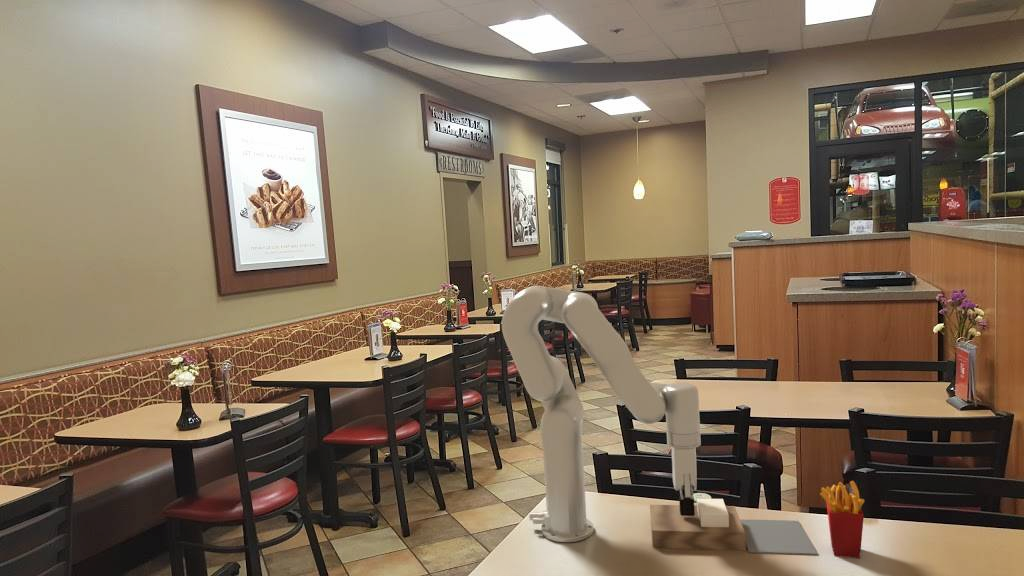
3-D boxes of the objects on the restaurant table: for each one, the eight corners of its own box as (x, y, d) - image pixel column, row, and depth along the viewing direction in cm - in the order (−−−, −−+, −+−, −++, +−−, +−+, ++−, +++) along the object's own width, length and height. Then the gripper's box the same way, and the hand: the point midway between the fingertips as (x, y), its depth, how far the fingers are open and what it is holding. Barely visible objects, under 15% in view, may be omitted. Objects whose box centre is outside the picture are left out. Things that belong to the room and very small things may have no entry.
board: (652, 547, 142) (651, 530, 142) (650, 520, 156) (649, 504, 155) (745, 550, 138) (745, 532, 138) (735, 522, 152) (734, 506, 152)
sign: (690, 517, 156) (690, 492, 170) (690, 520, 156) (690, 495, 170) (712, 518, 154) (710, 493, 168) (712, 522, 154) (711, 496, 168)
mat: (748, 552, 137) (748, 551, 137) (736, 520, 153) (736, 519, 153) (817, 554, 134) (817, 553, 134) (798, 521, 150) (798, 520, 150)
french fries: (866, 561, 131) (864, 491, 130) (822, 556, 134) (820, 488, 133) (858, 541, 139) (857, 475, 138) (817, 537, 142) (815, 473, 141)
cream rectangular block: (701, 526, 142) (700, 514, 142) (697, 509, 151) (696, 498, 151) (729, 527, 141) (728, 515, 141) (723, 510, 150) (722, 498, 150)
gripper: (665, 428, 154) (668, 501, 155) (668, 448, 139) (672, 528, 140) (696, 427, 152) (700, 501, 153) (704, 447, 138) (707, 529, 139)
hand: (687, 514), depth 147 cm, fingers closed
